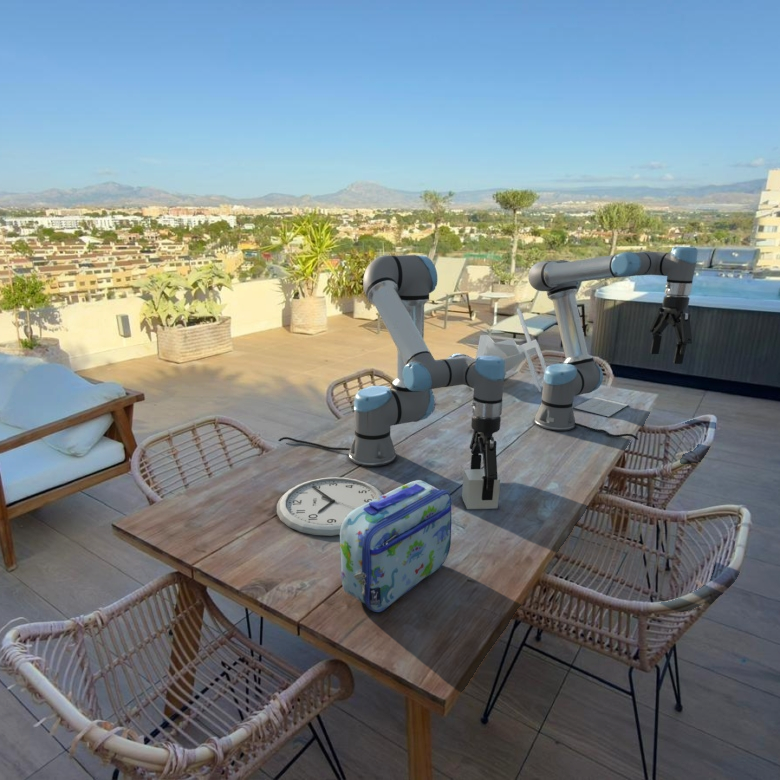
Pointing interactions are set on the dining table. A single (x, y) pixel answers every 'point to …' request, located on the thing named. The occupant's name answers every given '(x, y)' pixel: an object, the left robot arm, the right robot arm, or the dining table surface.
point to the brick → (478, 490)
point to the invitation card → (601, 406)
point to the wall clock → (323, 504)
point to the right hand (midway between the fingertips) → (665, 358)
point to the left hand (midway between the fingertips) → (480, 487)
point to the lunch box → (394, 543)
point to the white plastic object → (513, 351)
